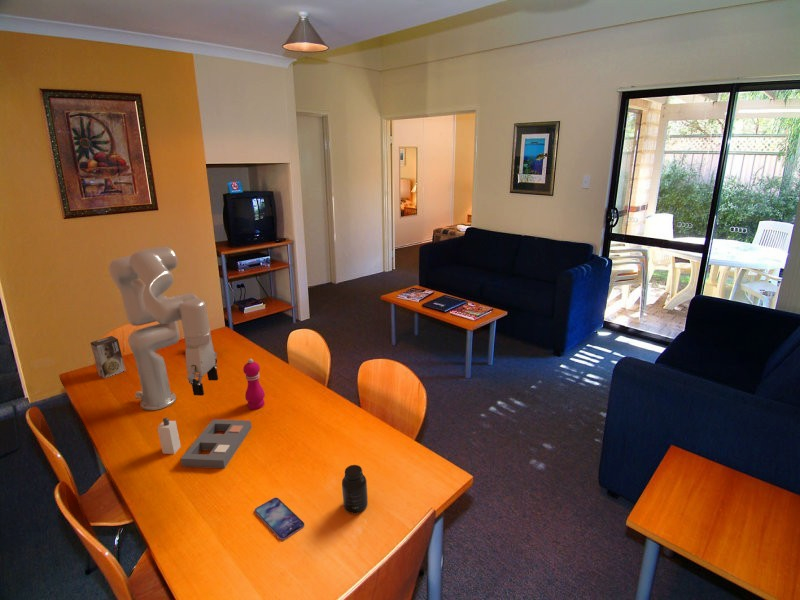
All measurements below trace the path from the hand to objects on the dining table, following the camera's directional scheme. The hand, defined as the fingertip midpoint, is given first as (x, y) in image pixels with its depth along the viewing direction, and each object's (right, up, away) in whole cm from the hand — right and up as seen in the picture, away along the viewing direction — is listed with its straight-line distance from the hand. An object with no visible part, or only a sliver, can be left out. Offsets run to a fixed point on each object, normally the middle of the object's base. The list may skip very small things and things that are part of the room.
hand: (206, 387), depth 149 cm
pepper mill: (+6, -13, +31) cm, 35 cm away
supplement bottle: (+50, -30, -20) cm, 62 cm away
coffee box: (-68, -5, +59) cm, 90 cm away
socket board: (+1, -21, +7) cm, 22 cm away
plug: (-14, -22, +5) cm, 27 cm away
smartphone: (+30, -32, -24) cm, 50 cm away
